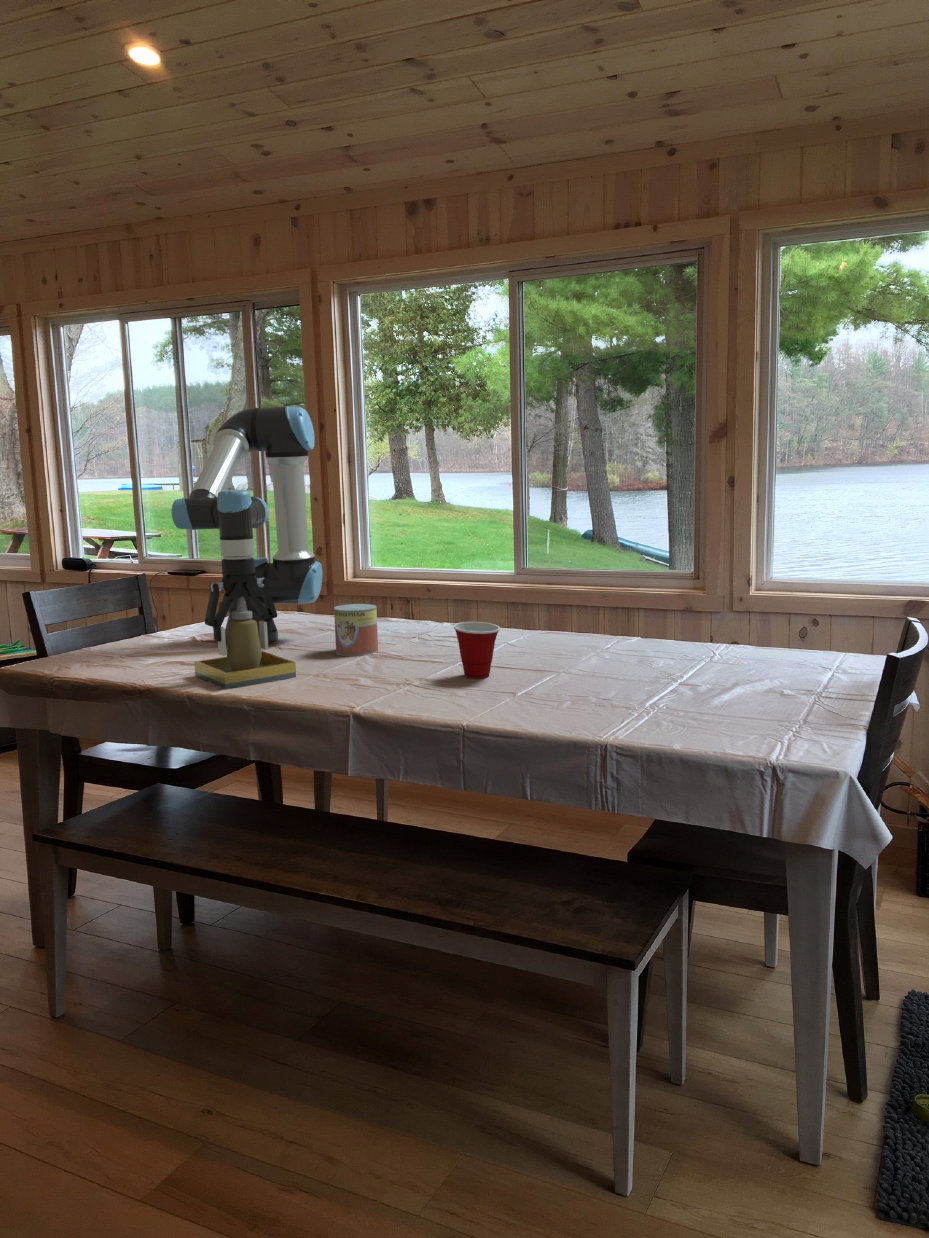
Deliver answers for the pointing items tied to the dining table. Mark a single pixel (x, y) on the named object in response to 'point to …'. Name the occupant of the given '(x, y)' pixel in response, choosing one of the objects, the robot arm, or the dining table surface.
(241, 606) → the squeeze bottle
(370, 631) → the canned food
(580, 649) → the dining table surface
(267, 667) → the shallow tray
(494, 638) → the plastic cup
